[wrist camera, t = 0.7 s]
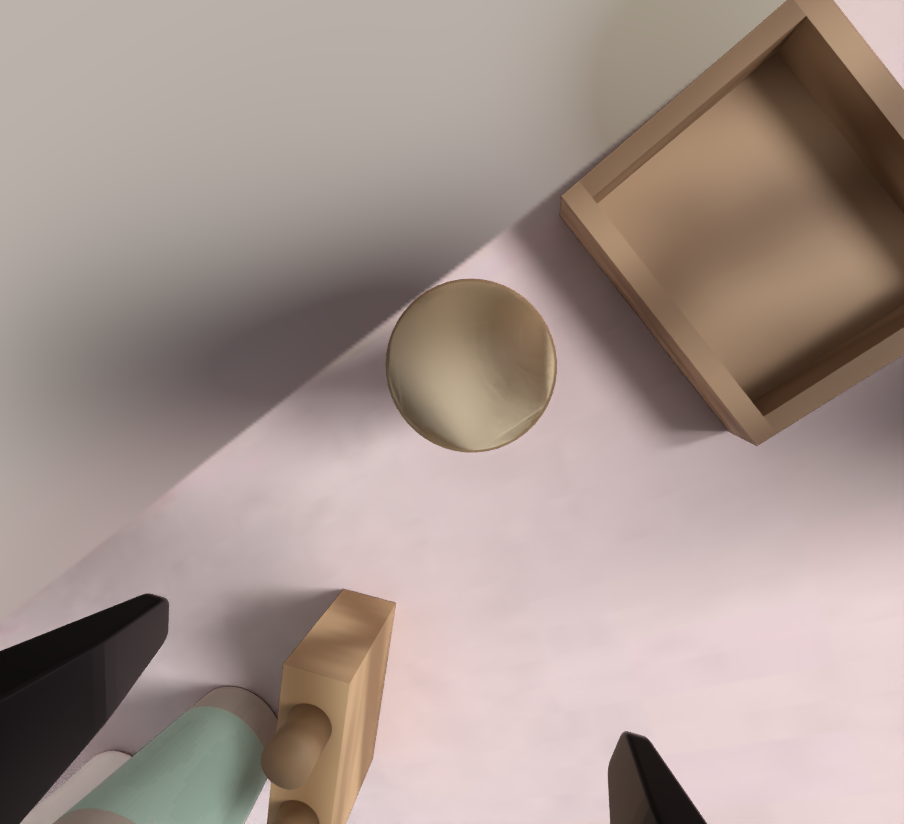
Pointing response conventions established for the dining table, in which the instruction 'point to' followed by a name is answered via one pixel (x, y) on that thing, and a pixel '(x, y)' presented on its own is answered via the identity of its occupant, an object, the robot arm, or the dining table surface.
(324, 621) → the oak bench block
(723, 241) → the walnut tray
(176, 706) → the dining table surface
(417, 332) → the beech dowel
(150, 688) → the dining table surface
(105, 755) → the drinking glass
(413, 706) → the dining table surface
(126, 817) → the coffee cup
